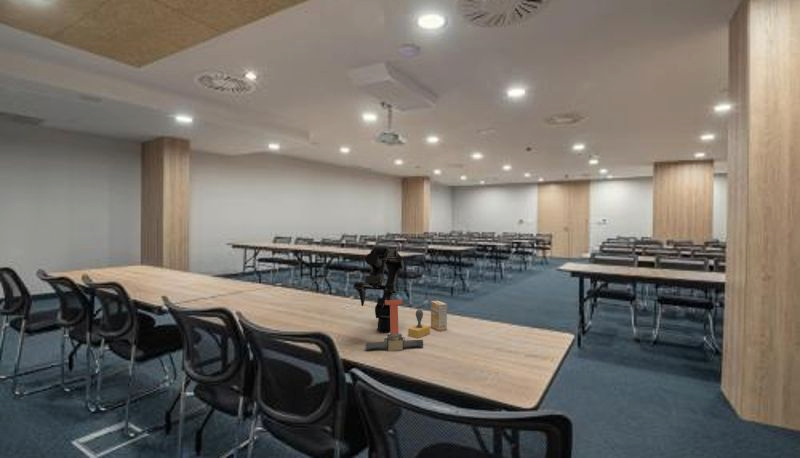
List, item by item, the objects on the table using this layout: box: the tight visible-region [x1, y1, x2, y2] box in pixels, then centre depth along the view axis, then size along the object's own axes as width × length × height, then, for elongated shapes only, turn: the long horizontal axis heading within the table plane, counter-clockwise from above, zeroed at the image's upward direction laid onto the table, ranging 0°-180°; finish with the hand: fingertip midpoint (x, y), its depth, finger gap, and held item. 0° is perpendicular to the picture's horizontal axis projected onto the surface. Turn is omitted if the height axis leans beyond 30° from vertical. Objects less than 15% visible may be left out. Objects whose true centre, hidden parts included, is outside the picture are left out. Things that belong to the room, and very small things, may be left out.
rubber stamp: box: [407, 309, 431, 339], centre depth 181 cm, size 10×6×12 cm, turn 140°
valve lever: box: [385, 299, 403, 338], centre depth 162 cm, size 2×7×15 cm, turn 100°
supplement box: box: [430, 300, 448, 332], centre depth 191 cm, size 8×5×13 cm, turn 25°
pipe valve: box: [364, 333, 424, 352], centre depth 161 cm, size 5×24×6 cm, turn 101°
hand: (372, 306), depth 168 cm, fingers open, 9 cm apart
